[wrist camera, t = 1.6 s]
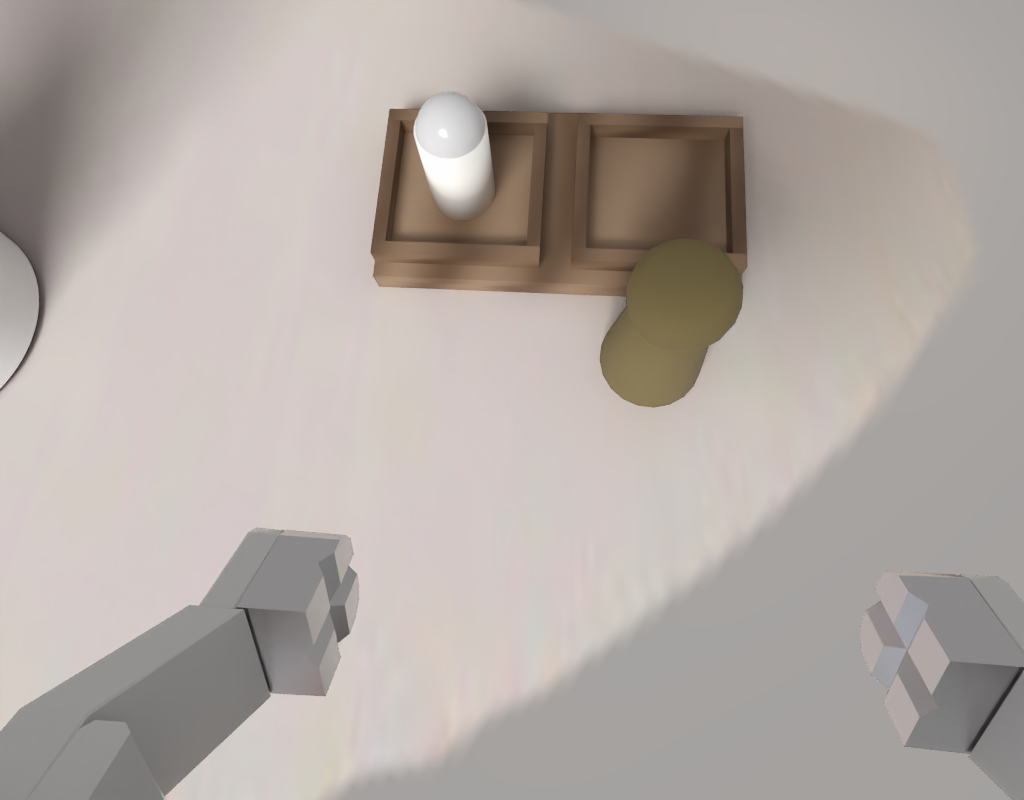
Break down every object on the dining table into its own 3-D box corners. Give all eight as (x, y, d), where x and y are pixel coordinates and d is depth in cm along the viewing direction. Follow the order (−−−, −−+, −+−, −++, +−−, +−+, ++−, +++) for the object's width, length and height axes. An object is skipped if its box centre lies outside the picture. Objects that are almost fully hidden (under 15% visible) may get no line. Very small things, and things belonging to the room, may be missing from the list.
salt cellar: (429, 219, 39) (402, 138, 32) (435, 163, 40) (411, 72, 33) (493, 221, 39) (481, 140, 31) (497, 165, 40) (487, 74, 32)
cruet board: (379, 286, 40) (367, 267, 37) (400, 124, 43) (390, 96, 40) (734, 300, 38) (748, 281, 36) (730, 132, 41) (743, 103, 39)
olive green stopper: (634, 294, 39) (668, 193, 28) (719, 346, 38) (789, 261, 27) (580, 371, 38) (595, 296, 27) (666, 426, 37) (717, 371, 26)
